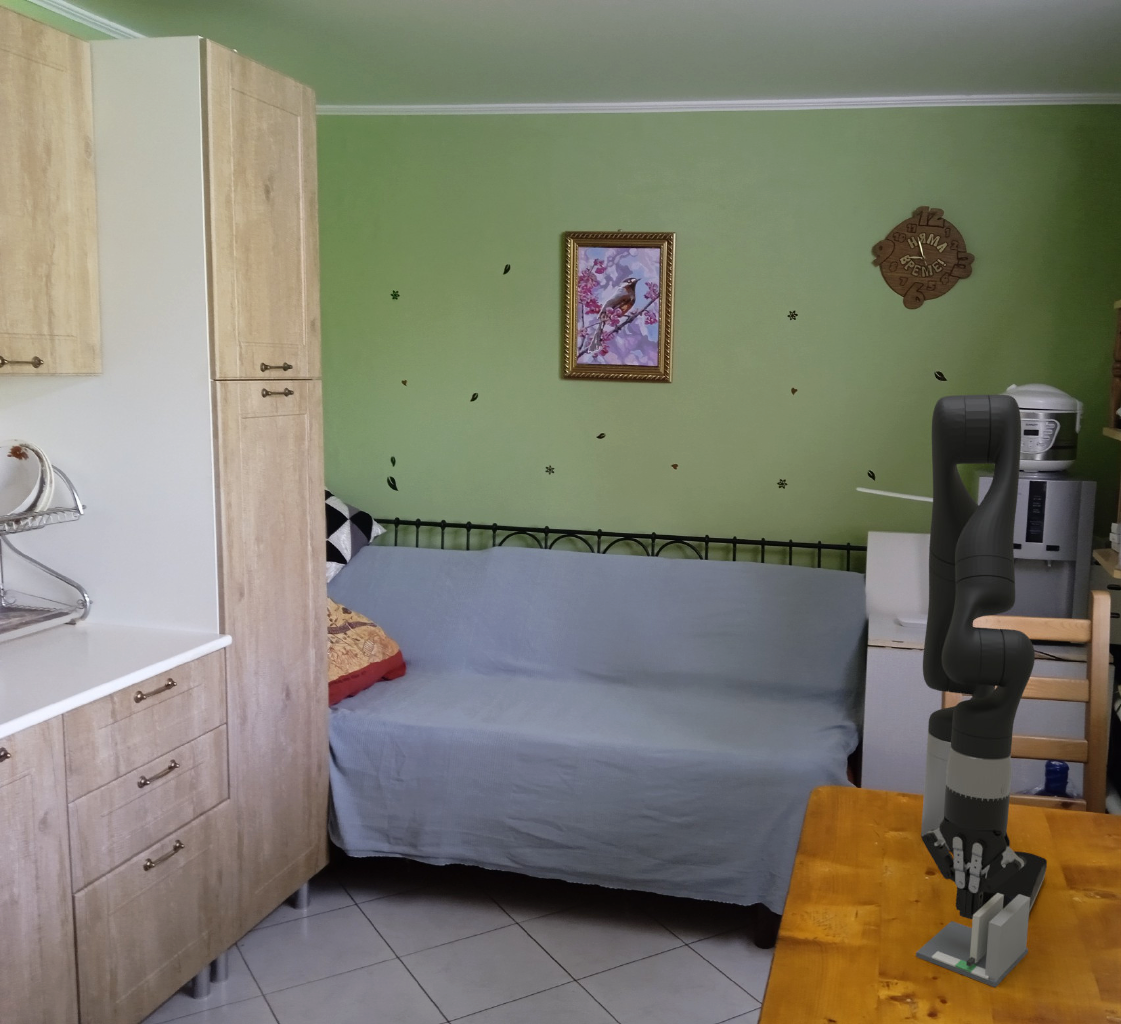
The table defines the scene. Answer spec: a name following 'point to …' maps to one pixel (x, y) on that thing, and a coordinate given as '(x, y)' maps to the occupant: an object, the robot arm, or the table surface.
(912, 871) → the table surface
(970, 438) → the robot arm
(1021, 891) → the black sponge
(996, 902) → the panel
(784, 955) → the table surface
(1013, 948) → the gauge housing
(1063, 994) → the table surface
